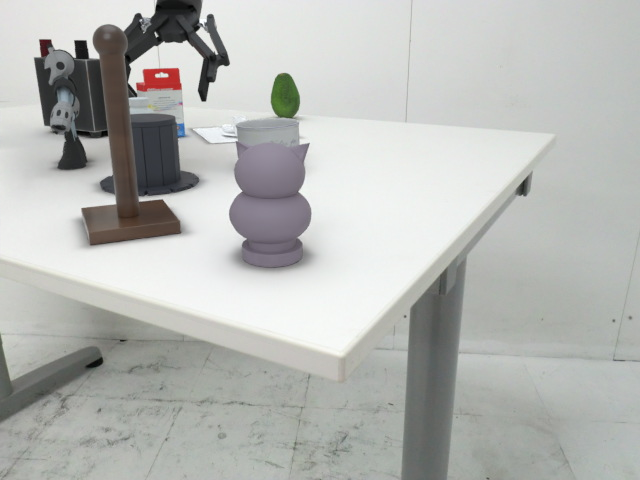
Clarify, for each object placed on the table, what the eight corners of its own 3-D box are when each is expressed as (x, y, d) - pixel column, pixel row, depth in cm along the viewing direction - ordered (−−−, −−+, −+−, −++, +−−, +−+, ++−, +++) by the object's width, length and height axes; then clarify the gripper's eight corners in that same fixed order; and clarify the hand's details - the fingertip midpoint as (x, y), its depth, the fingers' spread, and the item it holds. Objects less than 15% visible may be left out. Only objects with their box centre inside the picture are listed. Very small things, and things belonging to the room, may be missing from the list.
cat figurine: (220, 266, 57) (213, 148, 53) (243, 240, 64) (240, 134, 60) (303, 273, 56) (303, 152, 52) (317, 245, 63) (319, 137, 59)
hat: (96, 176, 91) (88, 113, 88) (185, 169, 97) (181, 109, 94) (107, 199, 79) (98, 127, 75) (208, 189, 85) (204, 121, 81)
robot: (84, 176, 91) (67, 44, 84) (51, 178, 90) (31, 44, 83) (91, 152, 109) (77, 42, 102) (64, 153, 107) (48, 41, 100)
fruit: (270, 116, 157) (269, 71, 153) (298, 116, 158) (298, 71, 154) (271, 120, 150) (270, 73, 146) (301, 120, 151) (301, 73, 147)
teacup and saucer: (217, 132, 131) (216, 114, 130) (250, 130, 134) (249, 113, 133) (226, 139, 124) (225, 120, 122) (261, 137, 127) (261, 118, 125)
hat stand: (82, 219, 71) (55, 23, 63) (163, 209, 75) (147, 25, 67) (90, 245, 62) (59, 23, 54) (181, 232, 66) (165, 24, 59)
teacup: (277, 177, 92) (277, 127, 89) (224, 169, 97) (222, 122, 94) (319, 161, 104) (320, 117, 101) (269, 155, 109) (269, 112, 106)
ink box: (176, 133, 130) (172, 66, 125) (185, 136, 126) (181, 67, 121) (140, 136, 125) (133, 67, 120) (148, 140, 122) (142, 68, 116)
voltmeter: (150, 128, 136) (141, 39, 129) (95, 138, 122) (83, 40, 115) (101, 122, 143) (91, 38, 136) (45, 132, 129) (30, 39, 122)
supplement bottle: (158, 144, 118) (154, 96, 114) (155, 149, 113) (150, 99, 109) (131, 144, 117) (126, 96, 114) (127, 149, 112) (121, 99, 109)
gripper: (254, 15, 102) (241, 111, 93) (119, 14, 103) (93, 108, 95) (248, -19, 95) (233, 80, 86) (103, -20, 97) (73, 78, 88)
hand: (159, 95), depth 90 cm, fingers open, 13 cm apart
